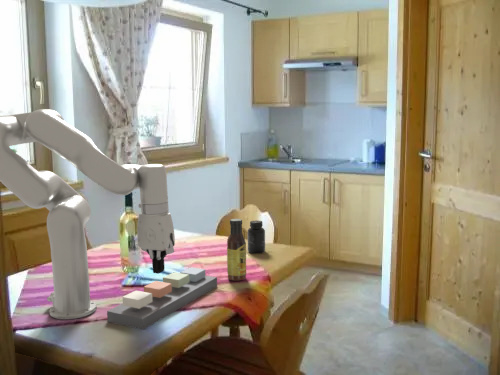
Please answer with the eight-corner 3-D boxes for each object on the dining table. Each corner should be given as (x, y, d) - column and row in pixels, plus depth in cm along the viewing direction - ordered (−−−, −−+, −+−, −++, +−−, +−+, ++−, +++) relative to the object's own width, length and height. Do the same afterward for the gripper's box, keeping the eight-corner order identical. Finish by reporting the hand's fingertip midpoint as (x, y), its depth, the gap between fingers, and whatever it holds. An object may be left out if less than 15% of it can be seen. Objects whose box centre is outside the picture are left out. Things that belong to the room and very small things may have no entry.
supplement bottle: (267, 253, 210) (267, 222, 209) (250, 254, 209) (249, 224, 207) (262, 248, 217) (262, 219, 215) (245, 250, 215) (245, 220, 214)
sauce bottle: (244, 282, 177) (243, 222, 174) (225, 281, 178) (224, 221, 175) (248, 275, 183) (247, 218, 180) (230, 275, 185) (228, 217, 182)
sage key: (163, 285, 163) (162, 277, 162) (174, 279, 167) (173, 272, 167) (178, 287, 160) (178, 280, 160) (189, 282, 165) (189, 274, 165)
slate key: (180, 279, 171) (180, 272, 170) (190, 274, 176) (190, 267, 175) (195, 282, 168) (195, 274, 168) (205, 276, 173) (205, 269, 173)
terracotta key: (144, 294, 155) (143, 286, 154) (156, 288, 160) (155, 280, 159) (160, 297, 152) (159, 289, 152) (171, 291, 157) (171, 283, 157)
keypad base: (107, 321, 147) (107, 311, 146) (185, 281, 179) (185, 272, 178) (143, 329, 141) (142, 318, 141) (217, 286, 173) (216, 277, 173)
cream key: (122, 305, 147) (122, 296, 146) (136, 298, 152) (135, 290, 151) (139, 308, 144) (138, 300, 144) (152, 301, 149) (152, 293, 149)
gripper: (125, 209, 152) (129, 272, 155) (168, 212, 145) (172, 279, 148) (142, 204, 159) (146, 265, 162) (184, 207, 152) (188, 271, 155)
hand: (158, 271), depth 155 cm, fingers closed
